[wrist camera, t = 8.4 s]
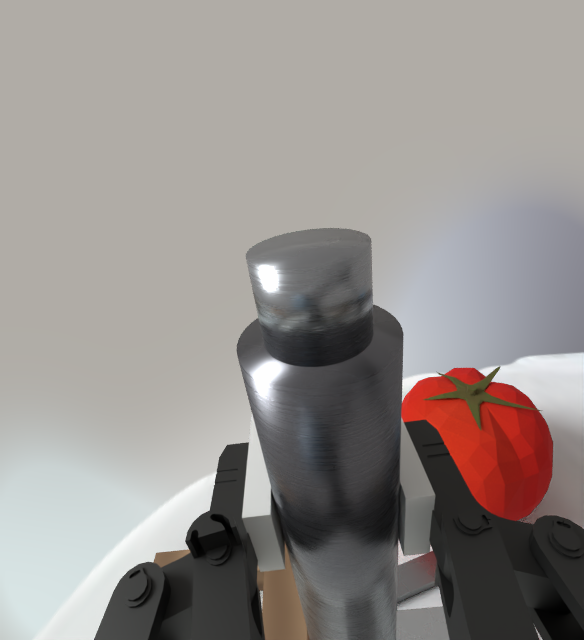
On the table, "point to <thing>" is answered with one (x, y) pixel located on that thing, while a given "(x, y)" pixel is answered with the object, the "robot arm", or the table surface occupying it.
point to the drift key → (416, 576)
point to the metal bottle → (329, 424)
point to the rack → (269, 599)
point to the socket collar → (421, 624)
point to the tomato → (488, 437)
